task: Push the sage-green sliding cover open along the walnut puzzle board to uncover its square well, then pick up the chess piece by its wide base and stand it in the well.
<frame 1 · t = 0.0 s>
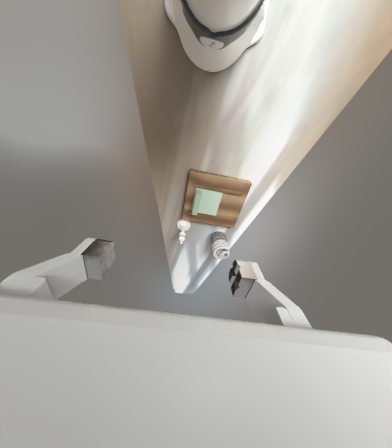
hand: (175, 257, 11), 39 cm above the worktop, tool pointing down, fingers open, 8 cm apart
chess piece: (183, 224, 57), on the worktop
light bulb: (217, 232, 59), on the worktop
board: (213, 199, 51), on the worktop
cover: (206, 203, 47), point 4 cm above the worktop, slide at 0.0 cm
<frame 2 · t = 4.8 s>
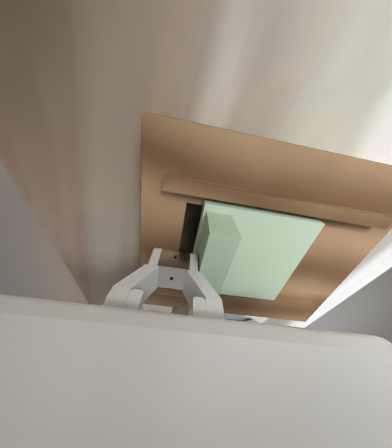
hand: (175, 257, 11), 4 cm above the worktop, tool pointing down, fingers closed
board: (245, 237, 15), on the worktop
cover: (249, 269, 11), point 4 cm above the worktop, slide at 1.6 cm, touching gripper
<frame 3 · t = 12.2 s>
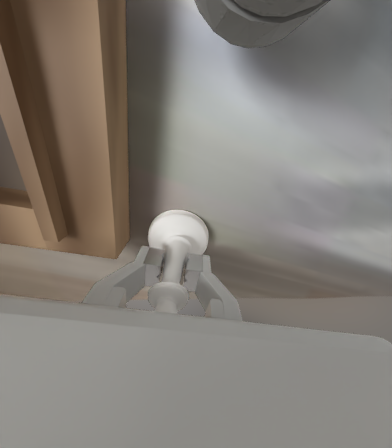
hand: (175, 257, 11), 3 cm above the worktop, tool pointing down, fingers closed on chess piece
chess piece: (179, 235, 13), on the worktop, touching gripper
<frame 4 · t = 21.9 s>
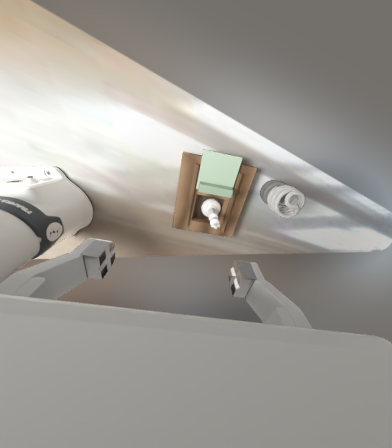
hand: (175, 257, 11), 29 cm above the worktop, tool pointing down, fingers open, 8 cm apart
chess piece: (210, 207, 40), resting on board
light bulb: (266, 187, 38), on the worktop
board: (209, 197, 39), on the worktop
cover: (218, 174, 32), point 4 cm above the worktop, slide at 9.0 cm
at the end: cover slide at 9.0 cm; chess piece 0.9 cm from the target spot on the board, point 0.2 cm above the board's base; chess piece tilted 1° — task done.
